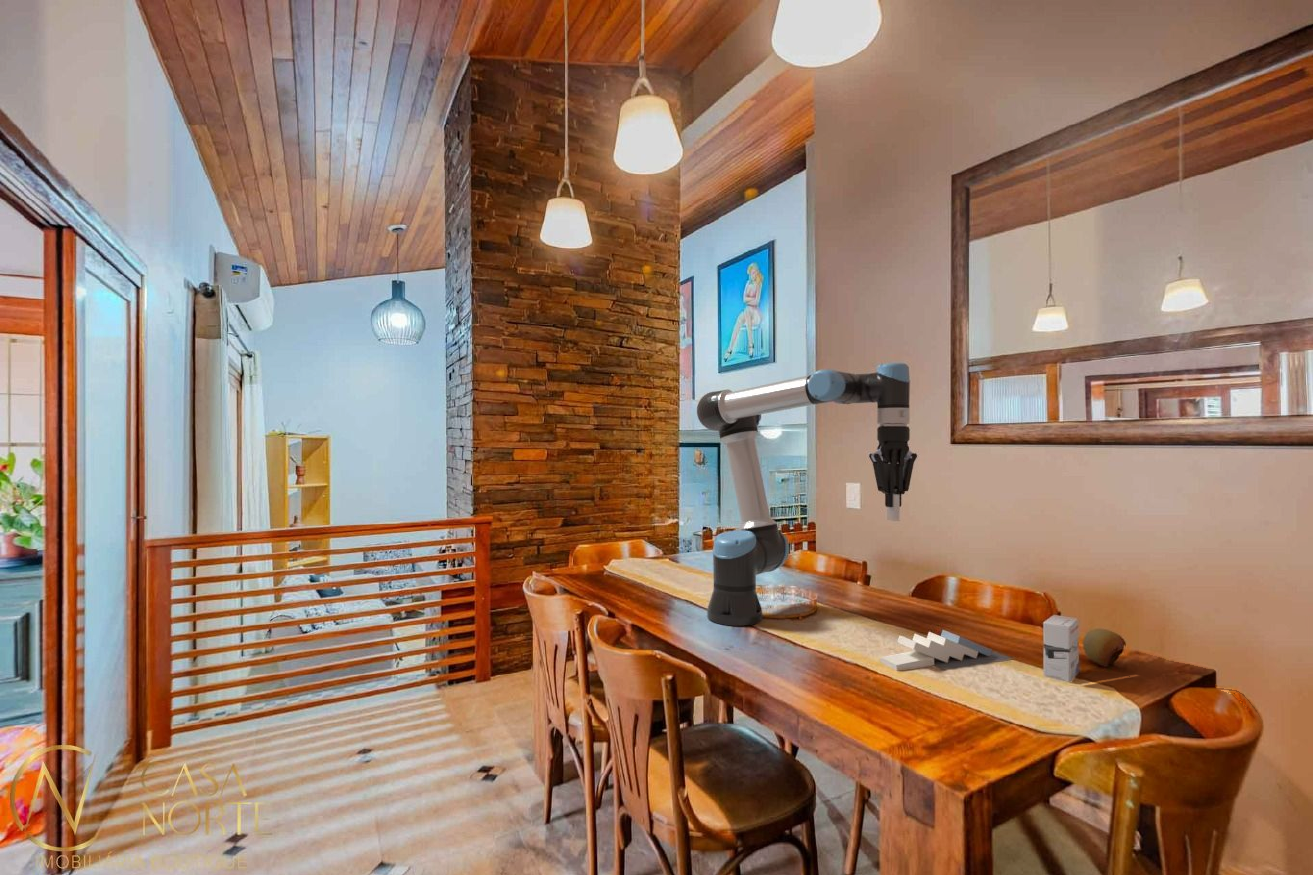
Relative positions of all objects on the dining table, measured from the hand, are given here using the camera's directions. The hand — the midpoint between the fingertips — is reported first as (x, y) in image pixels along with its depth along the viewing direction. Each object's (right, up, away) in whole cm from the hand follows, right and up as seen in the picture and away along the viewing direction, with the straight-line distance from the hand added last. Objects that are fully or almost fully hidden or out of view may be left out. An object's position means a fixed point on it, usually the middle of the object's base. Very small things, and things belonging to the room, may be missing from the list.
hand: (893, 520), depth 152 cm
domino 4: (+12, -28, -13) cm, 33 cm away
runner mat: (+10, -29, -14) cm, 34 cm away
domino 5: (+16, -28, -12) cm, 34 cm away
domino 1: (+1, -28, -17) cm, 33 cm away
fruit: (+39, -30, -18) cm, 52 cm away
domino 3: (+8, -28, -14) cm, 33 cm away
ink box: (+26, -30, -24) cm, 46 cm away
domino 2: (+4, -28, -15) cm, 32 cm away
